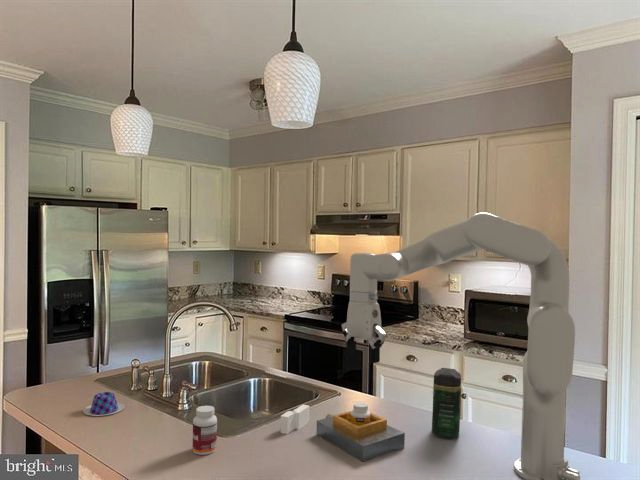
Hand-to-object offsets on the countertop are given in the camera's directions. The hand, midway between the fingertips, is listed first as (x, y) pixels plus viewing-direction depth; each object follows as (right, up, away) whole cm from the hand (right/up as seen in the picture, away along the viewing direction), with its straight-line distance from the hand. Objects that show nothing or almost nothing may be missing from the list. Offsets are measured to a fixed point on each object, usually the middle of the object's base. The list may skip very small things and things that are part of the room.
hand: (362, 358), depth 133 cm
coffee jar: (+25, -24, +7) cm, 35 cm away
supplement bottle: (-1, -23, 0) cm, 23 cm away
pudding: (-80, -21, +18) cm, 85 cm away
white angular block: (-20, -23, +9) cm, 32 cm away
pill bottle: (-42, -22, -8) cm, 48 cm away
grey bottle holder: (-2, -23, +2) cm, 23 cm away
